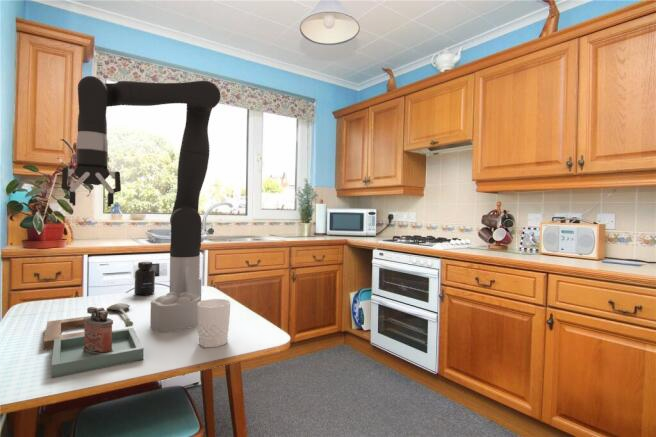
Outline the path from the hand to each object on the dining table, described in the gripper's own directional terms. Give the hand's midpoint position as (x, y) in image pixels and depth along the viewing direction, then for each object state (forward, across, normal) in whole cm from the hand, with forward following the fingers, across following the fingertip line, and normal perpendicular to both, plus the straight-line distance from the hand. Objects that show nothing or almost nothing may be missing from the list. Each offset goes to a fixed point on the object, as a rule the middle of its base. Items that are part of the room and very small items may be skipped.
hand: (92, 205), depth 105 cm
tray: (+33, 0, -30) cm, 45 cm away
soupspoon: (+34, +8, 0) cm, 35 cm away
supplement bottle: (+33, +18, +26) cm, 46 cm away
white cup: (+33, +24, -36) cm, 55 cm away
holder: (+33, -4, -12) cm, 35 cm away
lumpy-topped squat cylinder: (+33, +20, -17) cm, 42 cm away
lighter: (+33, 0, -30) cm, 44 cm away
